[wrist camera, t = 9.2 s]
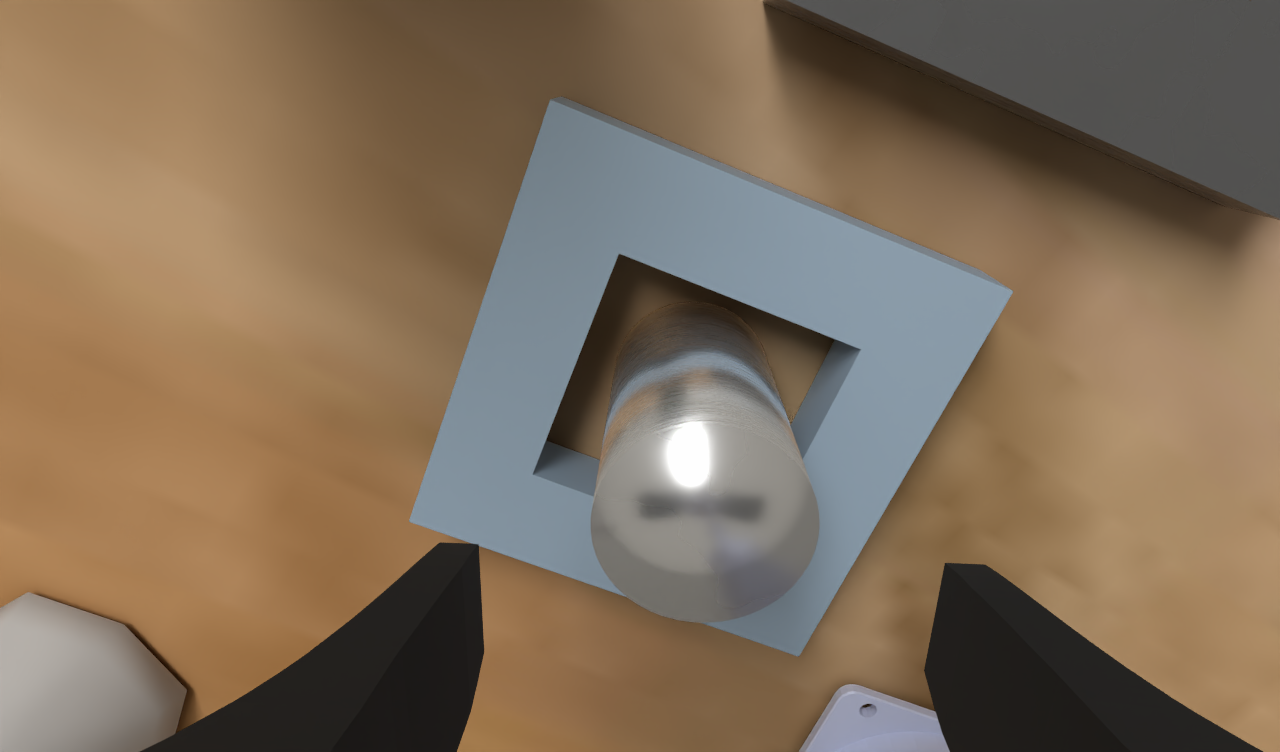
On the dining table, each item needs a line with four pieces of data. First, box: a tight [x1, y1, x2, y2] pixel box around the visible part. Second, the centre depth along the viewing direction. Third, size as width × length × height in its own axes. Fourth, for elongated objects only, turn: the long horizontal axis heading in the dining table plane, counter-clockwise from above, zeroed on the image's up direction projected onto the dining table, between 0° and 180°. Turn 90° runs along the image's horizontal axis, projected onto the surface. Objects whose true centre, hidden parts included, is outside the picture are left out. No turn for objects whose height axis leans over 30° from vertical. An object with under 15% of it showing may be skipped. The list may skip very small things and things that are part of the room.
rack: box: [409, 96, 1013, 657], centre depth 20 cm, size 11×11×2 cm
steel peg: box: [591, 302, 820, 623], centre depth 17 cm, size 4×4×8 cm
